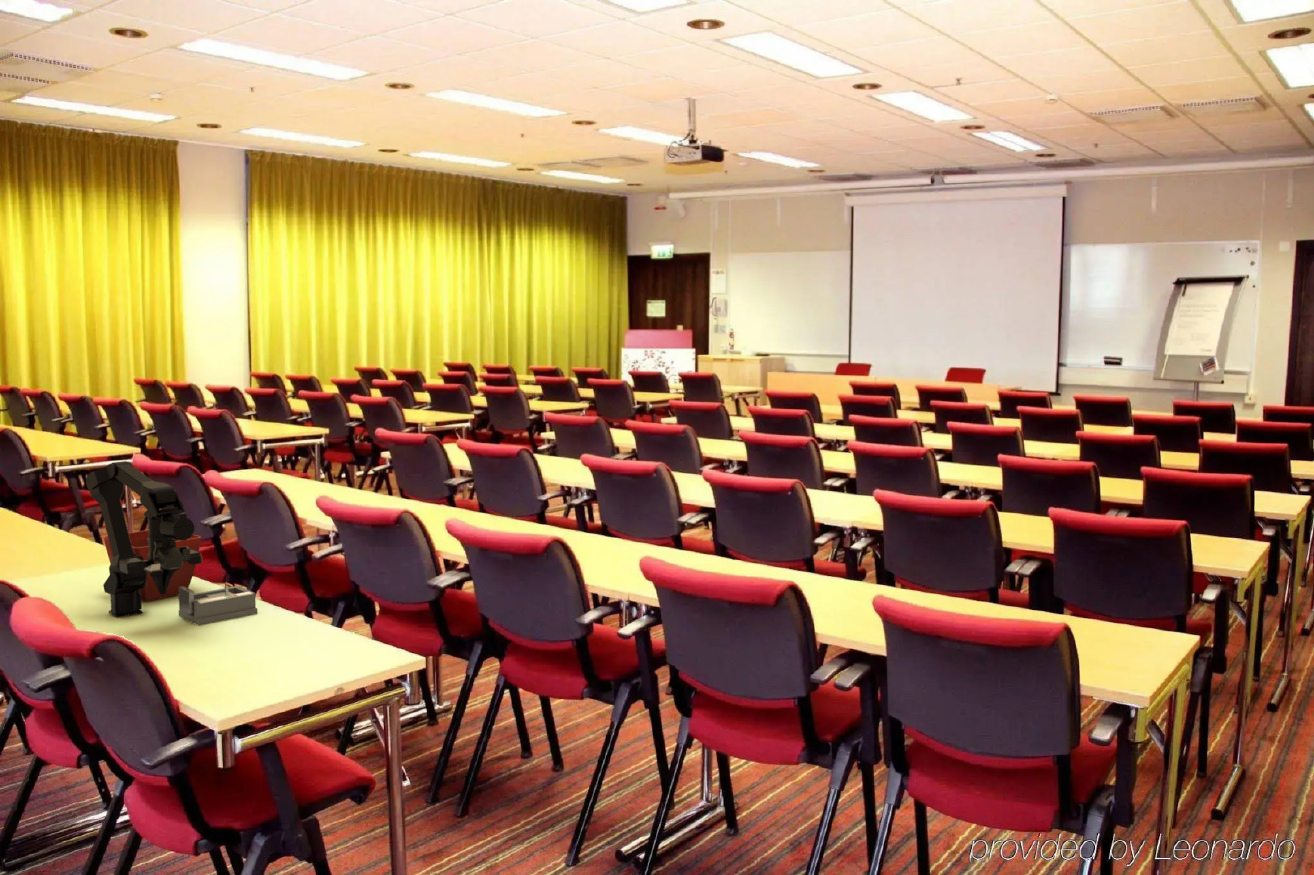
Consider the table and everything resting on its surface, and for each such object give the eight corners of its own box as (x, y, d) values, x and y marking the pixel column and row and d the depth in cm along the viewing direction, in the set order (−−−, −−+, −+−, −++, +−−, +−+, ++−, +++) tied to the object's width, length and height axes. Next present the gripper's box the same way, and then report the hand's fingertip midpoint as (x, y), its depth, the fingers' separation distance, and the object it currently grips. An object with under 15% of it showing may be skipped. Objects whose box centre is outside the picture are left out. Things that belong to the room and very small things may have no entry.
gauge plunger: (193, 619, 269) (193, 592, 269) (178, 611, 276) (178, 585, 275) (243, 609, 279) (242, 583, 278) (227, 602, 285) (227, 576, 284)
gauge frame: (198, 625, 270) (197, 603, 269) (178, 615, 278) (178, 593, 277) (257, 613, 282) (257, 592, 281) (237, 604, 290) (236, 583, 289)
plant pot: (137, 607, 284) (135, 547, 282) (104, 594, 296) (102, 536, 294) (204, 593, 299) (202, 536, 297) (169, 581, 311) (168, 526, 309)
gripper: (135, 545, 254) (137, 607, 256) (210, 535, 268) (212, 594, 270) (117, 538, 262) (119, 598, 264) (192, 528, 275) (193, 585, 277)
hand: (162, 594), depth 268 cm, fingers closed
